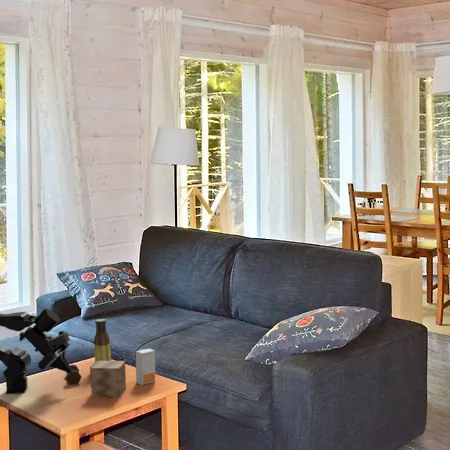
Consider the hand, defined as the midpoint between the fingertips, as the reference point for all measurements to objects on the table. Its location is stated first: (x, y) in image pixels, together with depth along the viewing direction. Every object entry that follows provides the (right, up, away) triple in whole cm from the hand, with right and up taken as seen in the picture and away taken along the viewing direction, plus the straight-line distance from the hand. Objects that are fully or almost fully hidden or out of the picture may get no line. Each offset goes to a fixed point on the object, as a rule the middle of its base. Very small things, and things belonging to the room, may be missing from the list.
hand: (71, 371), depth 260 cm
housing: (+14, -7, -1) cm, 15 cm away
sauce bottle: (+7, -5, +28) cm, 29 cm away
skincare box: (+26, -6, +11) cm, 28 cm away
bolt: (-3, -6, +17) cm, 18 cm away
